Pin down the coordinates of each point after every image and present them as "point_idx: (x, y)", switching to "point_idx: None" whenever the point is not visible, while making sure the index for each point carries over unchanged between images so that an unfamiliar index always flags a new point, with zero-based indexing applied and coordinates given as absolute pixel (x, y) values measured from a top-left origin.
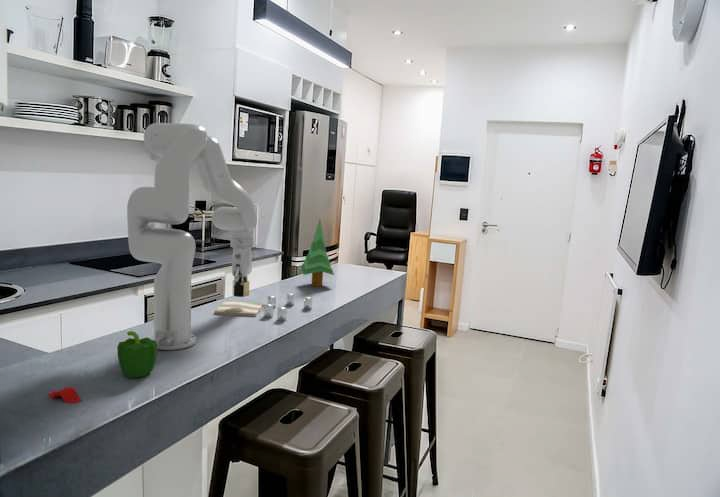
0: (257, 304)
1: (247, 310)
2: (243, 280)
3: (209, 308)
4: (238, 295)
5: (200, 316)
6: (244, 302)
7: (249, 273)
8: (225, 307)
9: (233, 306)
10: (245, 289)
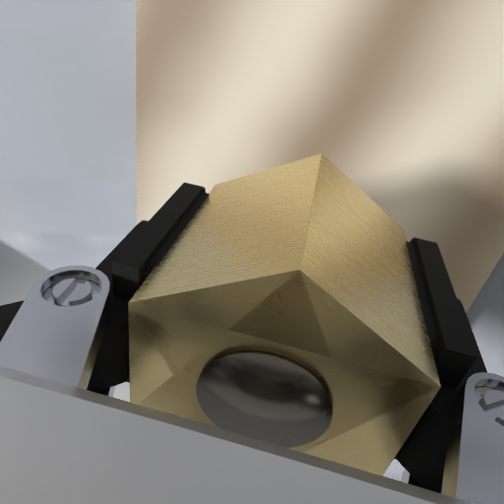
0: (203, 9)
1: (460, 125)
2: (230, 368)
3: None
4: None
5: None
6: (147, 153)
7: (217, 460)
8: None
9: None
10: (380, 255)
